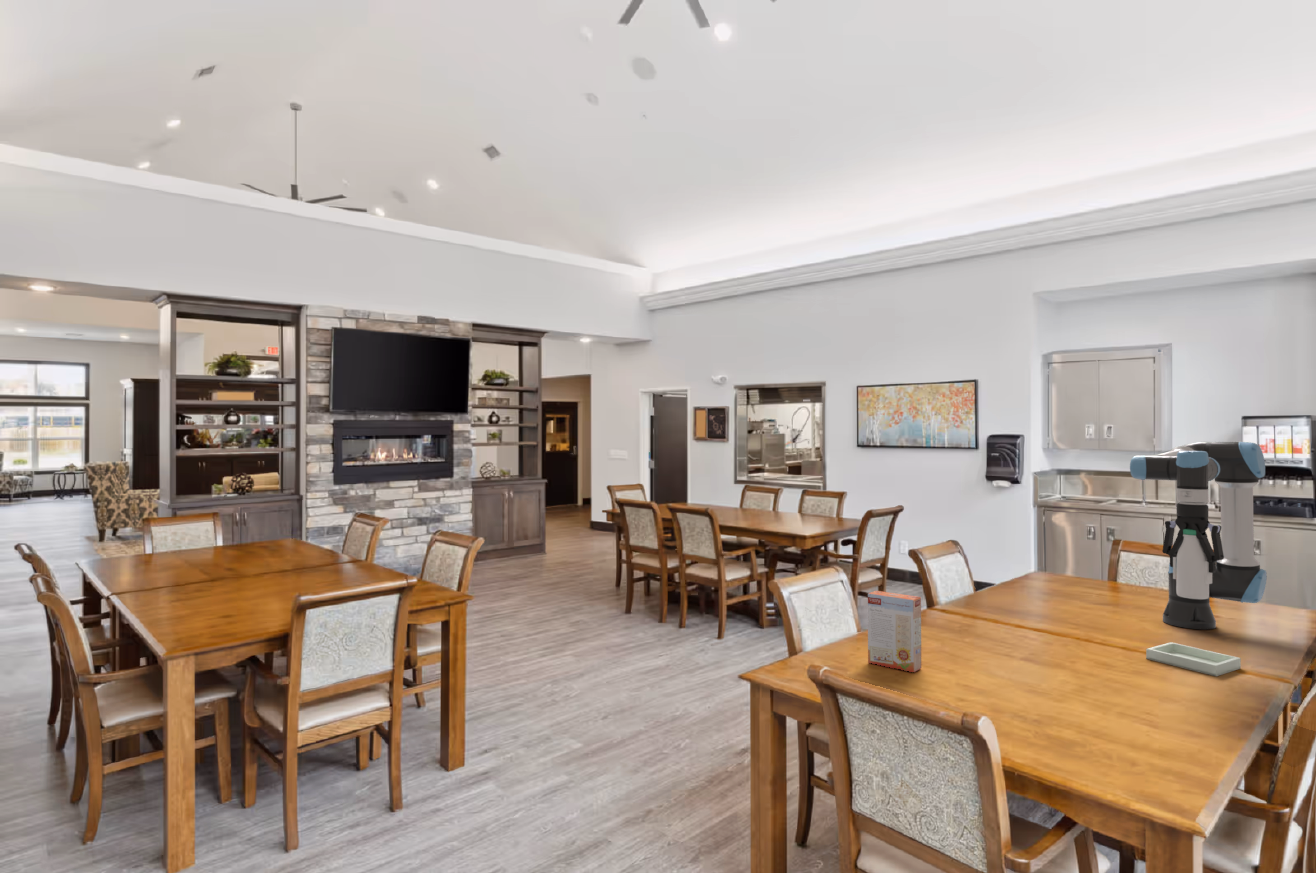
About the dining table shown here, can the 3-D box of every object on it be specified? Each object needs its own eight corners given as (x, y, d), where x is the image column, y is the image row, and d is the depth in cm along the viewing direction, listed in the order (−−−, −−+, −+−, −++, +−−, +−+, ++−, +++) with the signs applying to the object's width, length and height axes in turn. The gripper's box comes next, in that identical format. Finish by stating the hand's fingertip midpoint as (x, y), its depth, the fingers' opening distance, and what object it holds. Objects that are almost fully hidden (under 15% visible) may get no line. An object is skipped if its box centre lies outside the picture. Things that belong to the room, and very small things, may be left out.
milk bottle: (1214, 600, 206) (1214, 530, 205) (1184, 599, 207) (1184, 530, 207) (1200, 594, 213) (1200, 527, 213) (1171, 593, 215) (1171, 526, 215)
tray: (1171, 651, 222) (1171, 642, 222) (1240, 668, 206) (1240, 657, 206) (1146, 658, 215) (1146, 648, 215) (1216, 676, 199) (1216, 665, 199)
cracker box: (922, 668, 206) (922, 596, 206) (913, 673, 202) (913, 599, 202) (876, 658, 216) (876, 589, 216) (867, 663, 211) (867, 592, 211)
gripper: (1147, 501, 217) (1147, 576, 217) (1226, 506, 199) (1226, 588, 199) (1161, 499, 221) (1161, 573, 221) (1239, 505, 203) (1239, 586, 203)
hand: (1192, 580), depth 210 cm, fingers closed on milk bottle, 7 cm apart
